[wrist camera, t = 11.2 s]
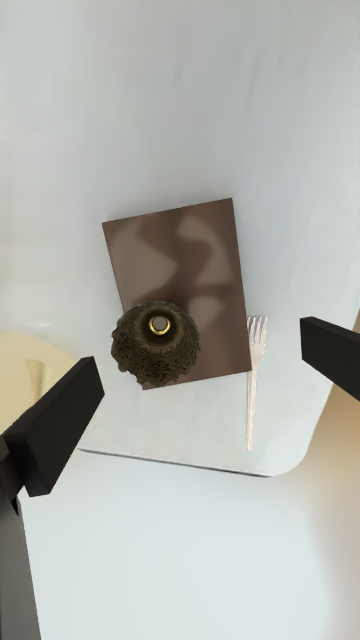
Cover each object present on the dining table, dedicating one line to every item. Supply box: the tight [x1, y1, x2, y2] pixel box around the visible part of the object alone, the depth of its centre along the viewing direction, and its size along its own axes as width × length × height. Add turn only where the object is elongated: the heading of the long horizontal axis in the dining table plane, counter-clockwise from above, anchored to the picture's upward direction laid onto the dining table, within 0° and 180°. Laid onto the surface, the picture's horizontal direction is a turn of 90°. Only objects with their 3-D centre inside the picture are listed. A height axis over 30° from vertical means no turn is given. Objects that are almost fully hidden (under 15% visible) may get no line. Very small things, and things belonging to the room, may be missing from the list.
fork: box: [246, 316, 268, 451], centre depth 29 cm, size 3×20×2 cm, turn 2°
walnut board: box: [102, 198, 252, 390], centre depth 26 cm, size 14×20×2 cm
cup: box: [111, 300, 201, 388], centre depth 22 cm, size 8×7×8 cm
